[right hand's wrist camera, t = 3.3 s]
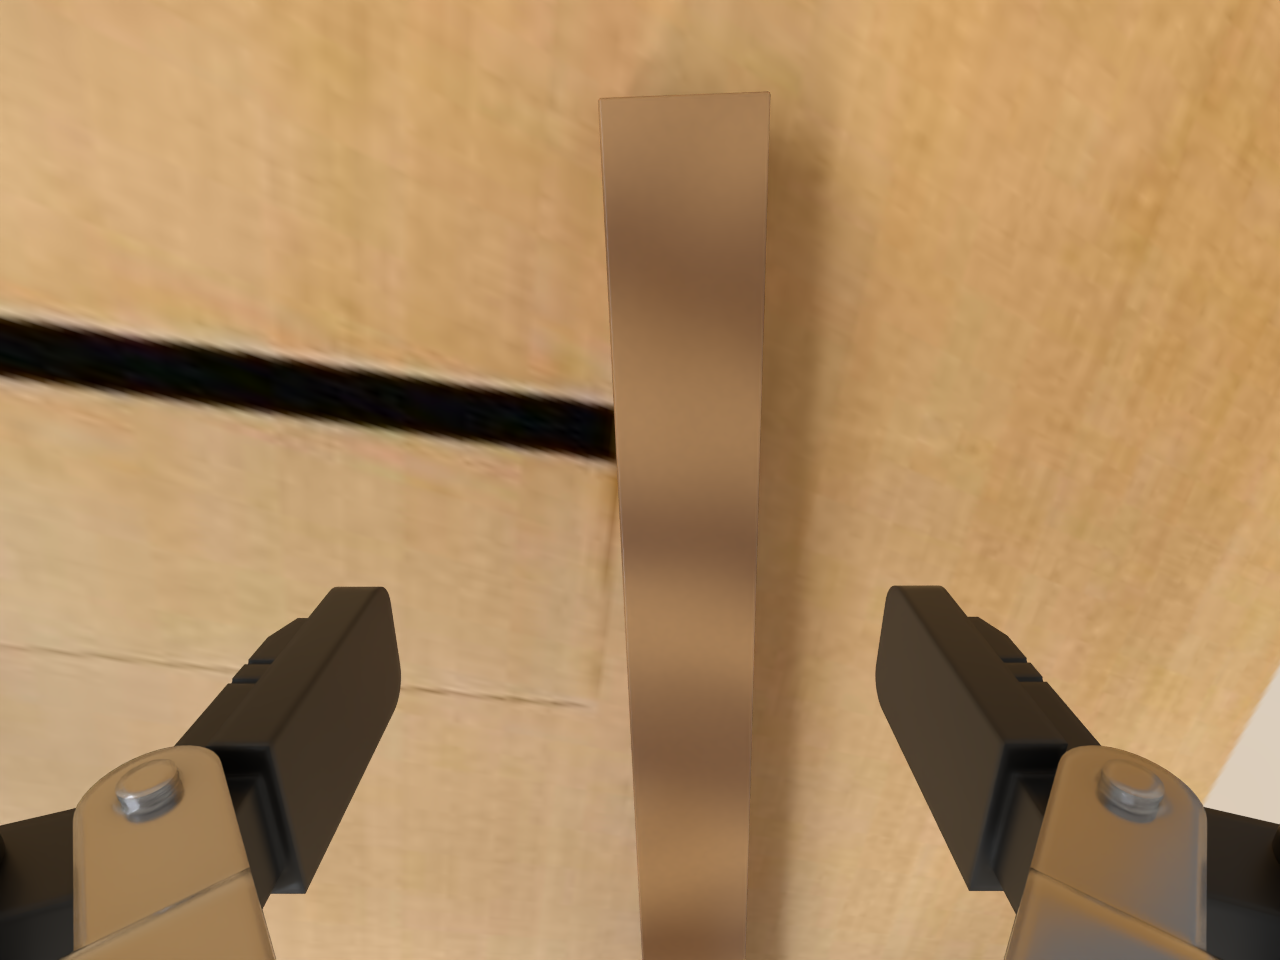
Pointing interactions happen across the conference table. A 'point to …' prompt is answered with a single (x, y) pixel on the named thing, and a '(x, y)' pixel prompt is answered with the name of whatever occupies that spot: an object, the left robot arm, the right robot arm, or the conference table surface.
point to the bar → (688, 491)
